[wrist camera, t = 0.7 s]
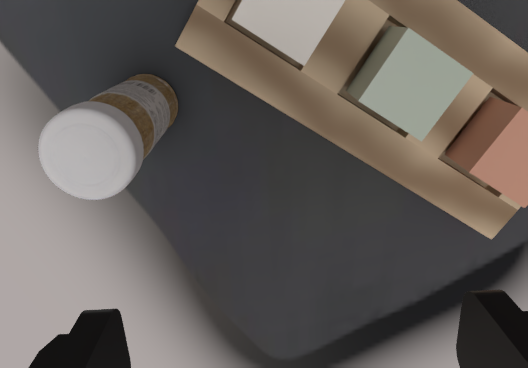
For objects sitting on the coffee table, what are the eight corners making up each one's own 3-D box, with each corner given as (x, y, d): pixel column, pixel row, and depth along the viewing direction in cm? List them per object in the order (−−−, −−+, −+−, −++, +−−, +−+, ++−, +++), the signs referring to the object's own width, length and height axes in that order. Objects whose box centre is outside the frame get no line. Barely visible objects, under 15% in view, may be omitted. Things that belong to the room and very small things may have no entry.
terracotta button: (489, 96, 31) (521, 107, 27) (541, 132, 32) (578, 147, 28) (444, 154, 33) (469, 172, 29) (494, 186, 34) (524, 208, 30)
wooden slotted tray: (269, -126, 28) (270, -139, 26) (581, 104, 34) (605, 110, 31) (180, 44, 31) (174, 46, 29) (476, 225, 37) (491, 239, 35)
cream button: (274, -54, 28) (277, -65, 24) (339, -9, 29) (353, -12, 25) (234, 19, 29) (231, 19, 25) (297, 60, 30) (304, 66, 26)
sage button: (388, 26, 29) (408, 27, 26) (446, 66, 30) (473, 73, 27) (345, 90, 31) (358, 101, 27) (402, 126, 32) (421, 141, 28)
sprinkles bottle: (108, 114, 33) (19, 174, 21) (134, 60, 32) (56, 89, 19) (163, 144, 34) (110, 219, 21) (191, 93, 33) (151, 141, 20)
